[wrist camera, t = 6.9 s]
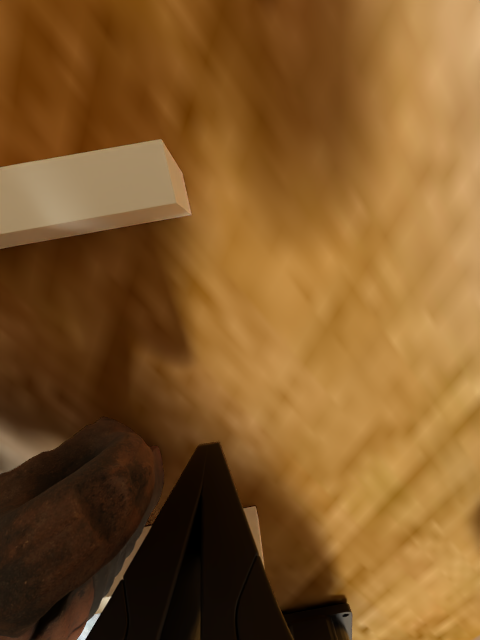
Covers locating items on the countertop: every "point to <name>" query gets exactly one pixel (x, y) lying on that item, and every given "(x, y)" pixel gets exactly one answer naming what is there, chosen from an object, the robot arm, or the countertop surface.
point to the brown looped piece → (72, 528)
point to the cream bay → (95, 215)
